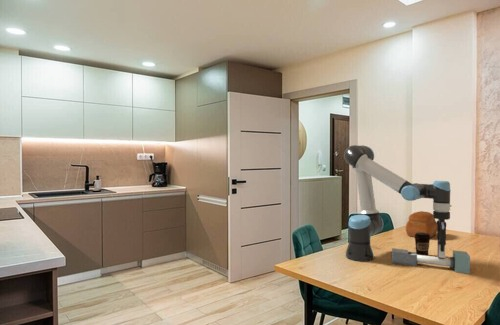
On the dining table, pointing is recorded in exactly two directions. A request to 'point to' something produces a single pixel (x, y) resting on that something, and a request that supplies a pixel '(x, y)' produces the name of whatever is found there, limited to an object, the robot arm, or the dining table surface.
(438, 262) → the tube
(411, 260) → the sleeve
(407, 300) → the dining table surface
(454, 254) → the socket
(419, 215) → the bread
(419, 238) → the coffee cup
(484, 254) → the dining table surface
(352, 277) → the dining table surface
